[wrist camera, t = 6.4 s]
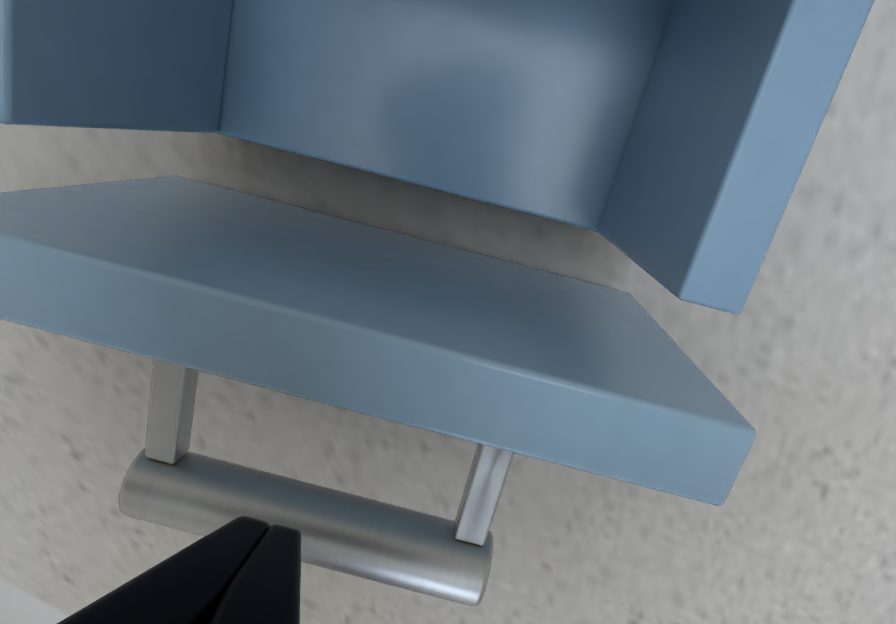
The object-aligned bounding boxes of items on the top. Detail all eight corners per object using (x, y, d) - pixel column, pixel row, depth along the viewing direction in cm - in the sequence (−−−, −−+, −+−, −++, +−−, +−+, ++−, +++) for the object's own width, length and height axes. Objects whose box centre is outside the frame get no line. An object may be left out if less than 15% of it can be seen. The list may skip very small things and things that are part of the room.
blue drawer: (558, 495, 15) (607, 758, 9) (154, 390, 15) (-99, 572, 9) (868, -363, 10) (1607, -1363, 3) (239, -523, 10) (-258, -1830, 3)
